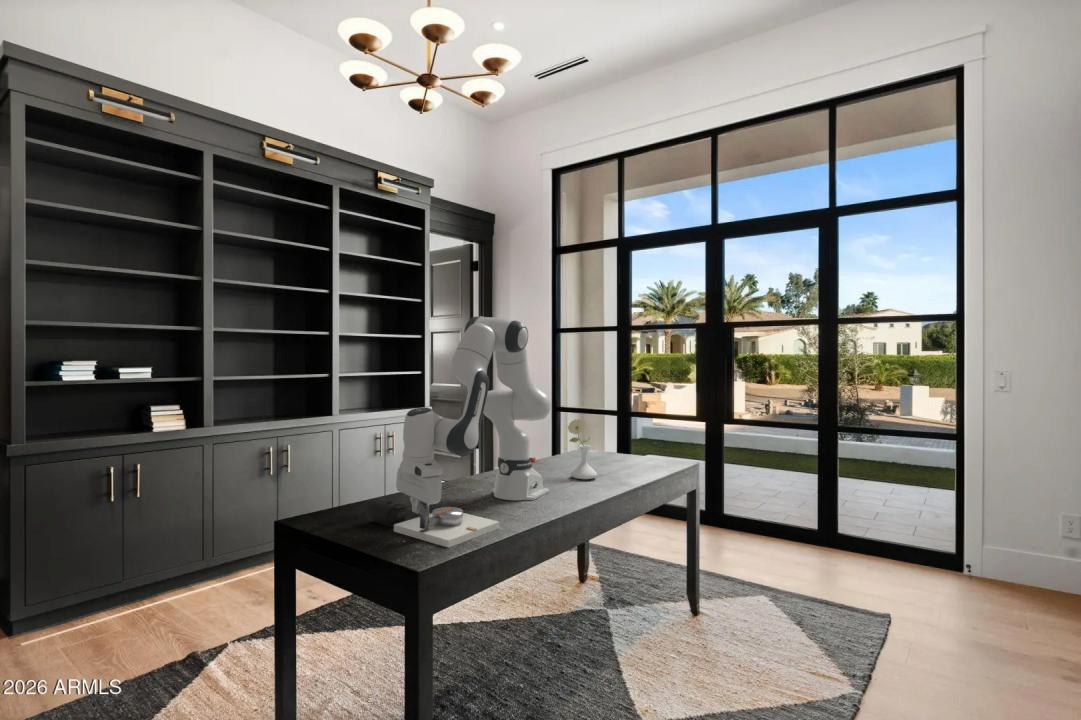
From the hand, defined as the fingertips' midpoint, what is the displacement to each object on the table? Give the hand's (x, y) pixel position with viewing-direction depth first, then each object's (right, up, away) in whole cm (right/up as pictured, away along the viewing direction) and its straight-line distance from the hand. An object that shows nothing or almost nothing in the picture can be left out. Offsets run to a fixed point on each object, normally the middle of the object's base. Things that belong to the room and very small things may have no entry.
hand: (416, 512), depth 171 cm
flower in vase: (+53, -6, +80) cm, 96 cm away
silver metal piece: (+6, -4, +3) cm, 8 cm away
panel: (+8, -7, +6) cm, 12 cm away
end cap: (-12, -6, +10) cm, 17 cm away
